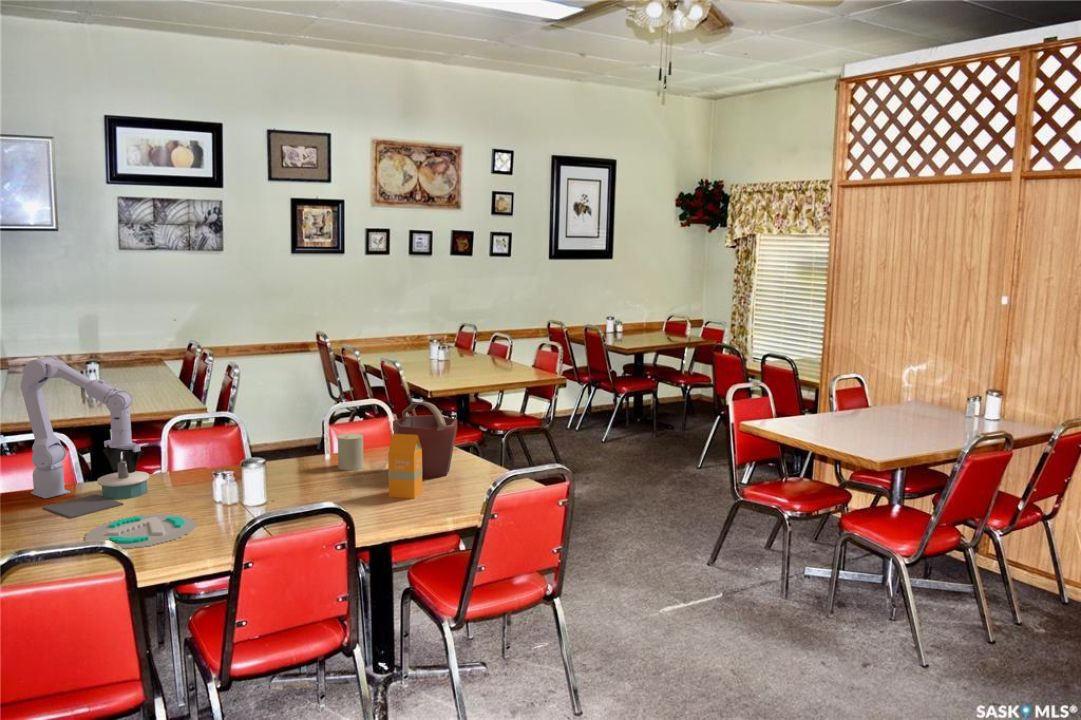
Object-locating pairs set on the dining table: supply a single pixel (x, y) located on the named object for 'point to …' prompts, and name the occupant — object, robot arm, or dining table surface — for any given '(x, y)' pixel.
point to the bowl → (124, 491)
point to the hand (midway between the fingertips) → (123, 471)
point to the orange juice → (405, 466)
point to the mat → (82, 506)
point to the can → (350, 451)
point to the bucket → (430, 438)
